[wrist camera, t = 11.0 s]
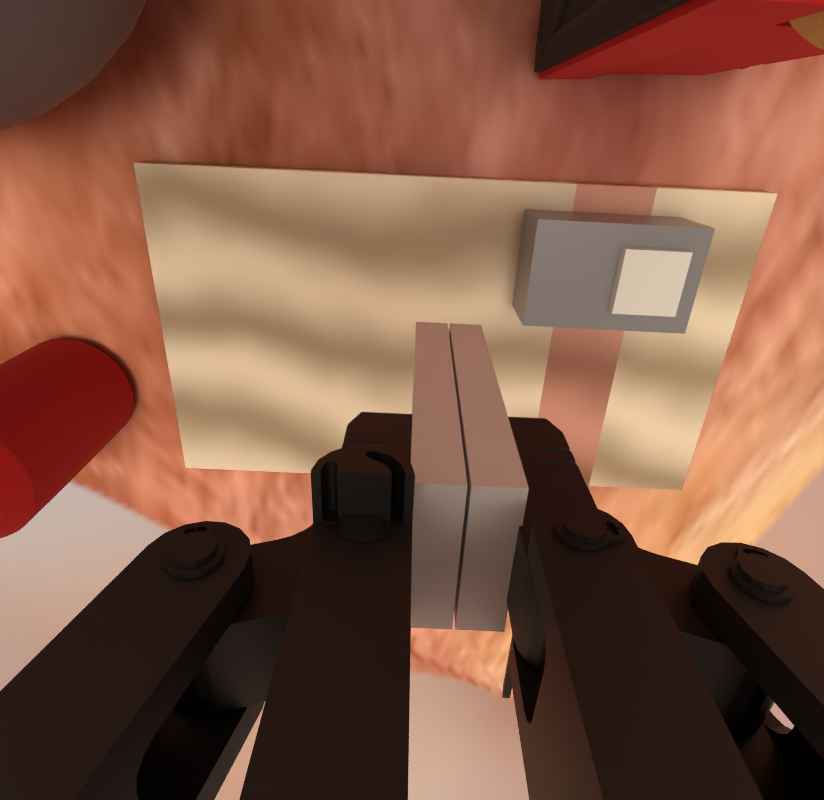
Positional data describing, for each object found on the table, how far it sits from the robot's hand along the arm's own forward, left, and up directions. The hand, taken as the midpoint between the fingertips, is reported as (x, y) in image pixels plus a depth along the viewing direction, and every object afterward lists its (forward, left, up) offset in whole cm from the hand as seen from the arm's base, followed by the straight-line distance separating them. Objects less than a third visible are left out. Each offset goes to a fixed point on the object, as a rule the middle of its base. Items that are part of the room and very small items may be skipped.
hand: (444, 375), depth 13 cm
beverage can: (+10, -21, -18) cm, 29 cm away
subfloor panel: (+6, +1, -18) cm, 19 cm away
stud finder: (0, +9, -17) cm, 19 cm away
